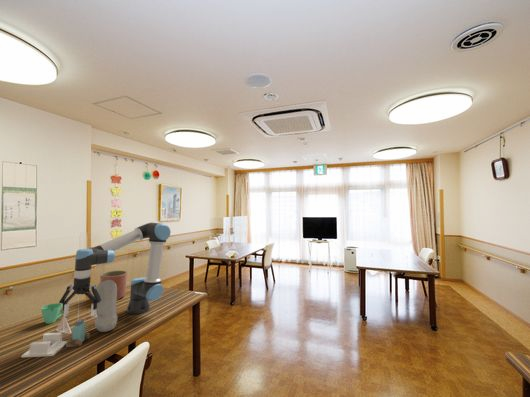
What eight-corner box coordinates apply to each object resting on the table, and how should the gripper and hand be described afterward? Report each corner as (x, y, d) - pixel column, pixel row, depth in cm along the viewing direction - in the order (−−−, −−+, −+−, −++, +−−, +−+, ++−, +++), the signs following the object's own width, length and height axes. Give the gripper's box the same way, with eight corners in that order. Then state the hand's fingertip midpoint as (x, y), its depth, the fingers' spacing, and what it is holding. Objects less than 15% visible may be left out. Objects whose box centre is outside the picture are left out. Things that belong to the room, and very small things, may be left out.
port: (68, 342, 134) (69, 331, 134) (52, 355, 122) (53, 343, 122) (39, 344, 132) (40, 332, 132) (21, 357, 120) (22, 345, 120)
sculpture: (123, 326, 154) (126, 278, 155) (109, 335, 142) (112, 284, 144) (101, 324, 156) (104, 277, 157) (86, 333, 144) (89, 282, 145)
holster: (89, 337, 139) (89, 332, 140) (80, 346, 131) (80, 340, 131) (76, 338, 138) (76, 333, 138) (66, 347, 130) (66, 341, 130)
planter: (106, 293, 208) (108, 270, 209) (129, 293, 210) (131, 270, 211) (93, 302, 190) (95, 276, 190) (119, 302, 192) (120, 276, 192)
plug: (84, 339, 137) (85, 318, 138) (79, 344, 132) (80, 322, 133) (77, 340, 137) (79, 318, 137) (71, 345, 132) (73, 322, 132)
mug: (48, 326, 150) (49, 310, 151) (36, 324, 152) (37, 308, 153) (71, 316, 165) (72, 301, 165) (59, 314, 167) (60, 300, 167)
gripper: (109, 275, 142) (106, 312, 141) (62, 275, 138) (59, 313, 137) (103, 278, 134) (100, 317, 133) (52, 278, 131) (49, 319, 129)
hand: (79, 315), depth 135 cm, fingers open, 13 cm apart
